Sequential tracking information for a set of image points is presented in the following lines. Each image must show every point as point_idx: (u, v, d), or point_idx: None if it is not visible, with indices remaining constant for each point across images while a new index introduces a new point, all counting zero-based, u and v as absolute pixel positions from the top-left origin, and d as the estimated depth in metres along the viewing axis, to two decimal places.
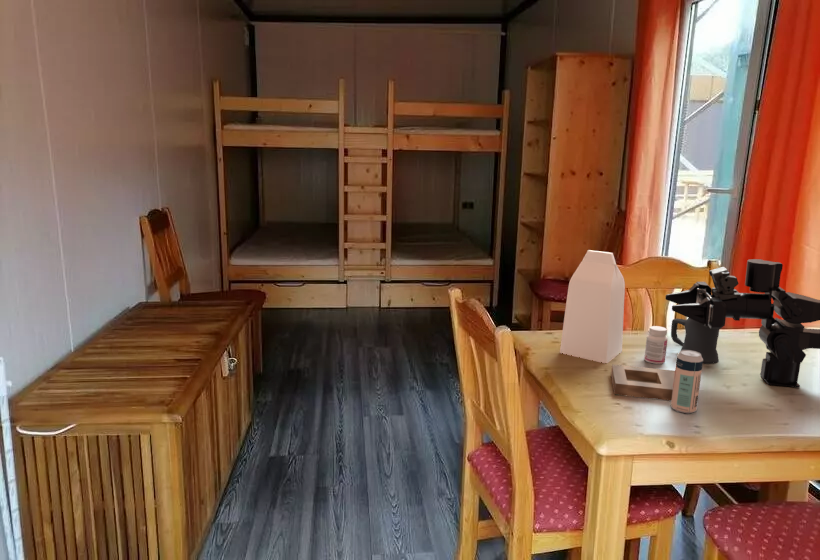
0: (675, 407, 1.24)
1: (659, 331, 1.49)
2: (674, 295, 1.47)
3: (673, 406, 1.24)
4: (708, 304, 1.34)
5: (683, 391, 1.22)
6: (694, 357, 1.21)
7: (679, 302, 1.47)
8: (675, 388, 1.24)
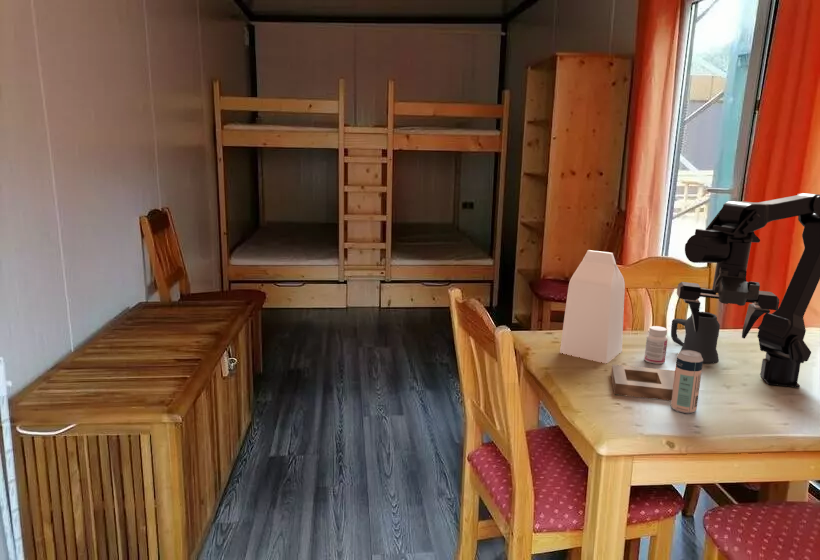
0: (675, 407, 1.24)
1: (659, 331, 1.49)
2: (698, 323, 1.33)
3: (673, 406, 1.24)
4: None
5: (683, 391, 1.22)
6: (694, 357, 1.21)
7: None
8: (675, 388, 1.24)
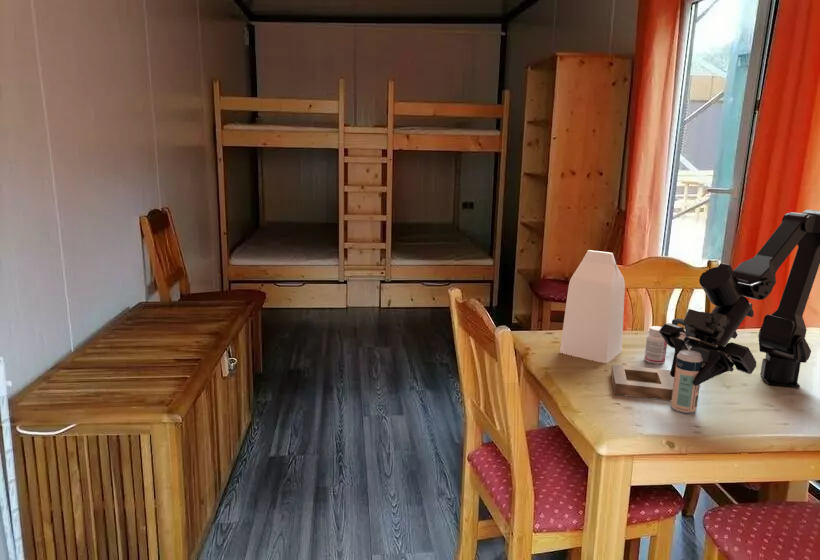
0: (675, 407, 1.24)
1: None
2: None
3: (673, 406, 1.24)
4: (724, 357, 1.18)
5: (683, 391, 1.22)
6: (694, 357, 1.21)
7: None
8: (675, 388, 1.24)
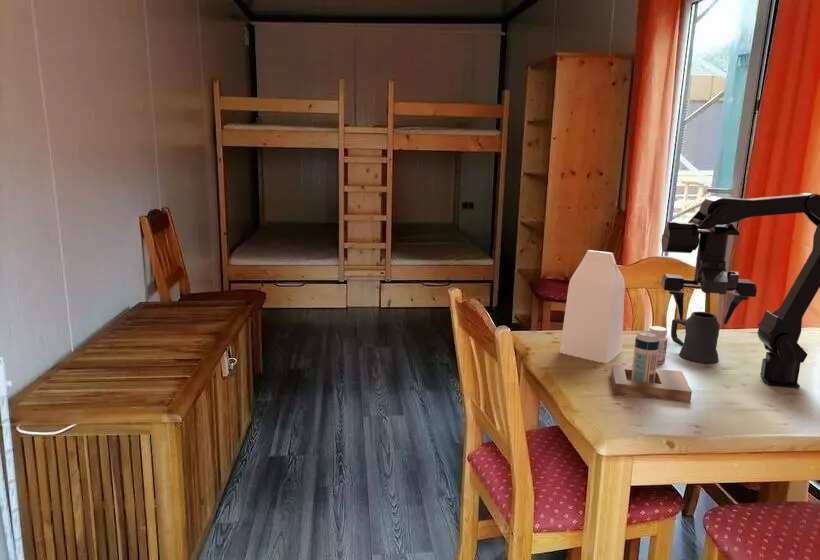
0: None
1: (659, 331, 1.49)
2: (682, 312, 1.41)
3: None
4: (748, 298, 1.35)
5: (637, 368, 1.34)
6: (647, 337, 1.32)
7: None
8: (633, 365, 1.36)
